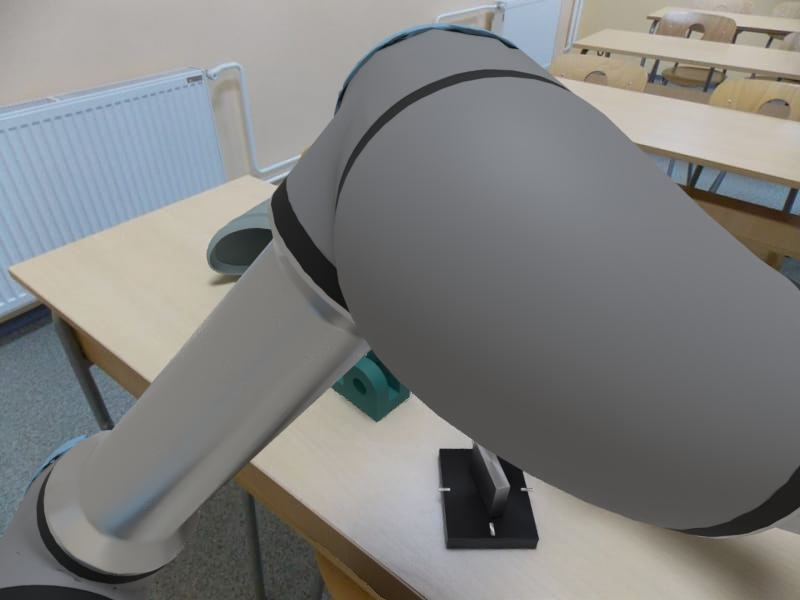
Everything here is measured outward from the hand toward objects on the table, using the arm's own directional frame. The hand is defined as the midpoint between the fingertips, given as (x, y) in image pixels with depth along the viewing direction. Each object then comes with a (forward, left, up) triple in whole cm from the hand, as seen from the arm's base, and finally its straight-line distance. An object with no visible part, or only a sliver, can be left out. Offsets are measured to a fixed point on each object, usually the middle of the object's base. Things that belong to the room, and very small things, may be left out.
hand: (508, 301), depth 64 cm
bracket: (-10, +19, -18) cm, 28 cm away
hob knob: (-14, -8, -16) cm, 23 cm away
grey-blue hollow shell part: (+2, +47, -18) cm, 50 cm away
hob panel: (-14, -8, -18) cm, 24 cm away
